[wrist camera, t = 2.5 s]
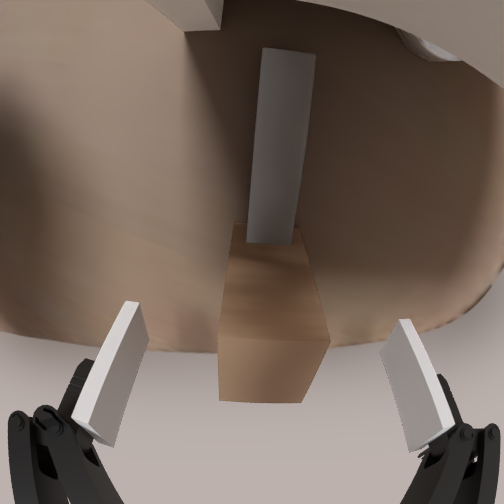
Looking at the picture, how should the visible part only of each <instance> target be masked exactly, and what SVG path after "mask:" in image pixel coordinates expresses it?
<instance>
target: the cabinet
mask: <svg viewBox="0 0 504 504" xmlns="http://www.w3.org/2000/svg"><path fill="white" fill-rule="evenodd" d="M145 1H147V2H148V3H149V4H151V5H152V6H153V7H155V8H156V9H157V10H158V11H160V12H161V13H162V14H163V15H165V16H166V17H167V18H168V19H170V20H171V21H172V22H173V23H174V24H175V25H177V26H178V27H179V28H180V29H181V30H182V31H184V32H186V31H205V30H220V29H221V20H222V11H223V3H224V0H145ZM298 1H304V2H310V3H315V4H320V5H325V6H330V7H334V8H338V9H342V10H346V11H349V12H353V13H356V14H360V15H363V16H366V17H369V18H372V19H375V20H378V21H381V22H384V23H386V24H389V25H392V26H394V27H397V28H399V29H402V30H404V31H406V32H409V33H411V34H413V35H416V36H418V37H420V38H422V39H424V40H426V41H428V42H430V43H432V44H434V45H436V46H438V47H440V48H442V49H444V50H445V51H447V52H449V53H451V54H452V55H454V56H456V57H458V58H459V59H461V60H462V61H464V62H466V63H467V64H469V65H470V66H472V67H473V68H475V69H476V70H478V71H479V72H481V73H482V74H484V75H485V76H487V77H488V78H489V79H491V80H492V81H493V82H495V83H496V84H497V85H499V86H500V87H501V88H503V89H504V0H298Z"/></svg>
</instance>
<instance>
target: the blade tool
mask: <svg viewBox="0 0 504 504" xmlns="http://www.w3.org/2000/svg"><path fill="white" fill-rule="evenodd" d="M315 64H316V55H315V54H310V53H304V52H297V51H290V50H283V49H274V48H264V47H263V51H262V58H261V69H260V80H259V91H258V103H257V114H256V126H255V137H254V149H253V161H252V173H251V185H250V197H249V210H248V222H247V223H243V222H234V228H233V234H232V240H231V247H230V253H229V260H228V267H227V273H226V280H225V287H224V294H223V301H222V308H221V315H220V323H219V330H218V376H219V400H221V401H233V402H250V403H301V402H302V400H303V398H304V396H305V394H306V393H307V390H308V389H309V386H310V385H311V383H312V381H313V379H314V376H315V374H316V372H317V370H318V368H319V366H320V364H321V361H322V359H323V357H324V355H325V353H326V351H327V349H328V346H329V344H330V342H331V341H330V336H329V332H328V328H327V324H326V321H325V317H324V313H323V309H322V305H321V301H320V298H319V294H318V290H317V287H316V283H315V280H314V276H313V272H312V269H311V265H310V262H309V259H308V255H307V252H306V248H305V245H304V242H303V239H302V235H301V232H300V229H299V227H294V223H295V217H296V211H297V204H298V198H299V192H300V185H301V178H302V171H303V164H304V157H305V150H306V142H307V135H308V127H309V119H310V111H311V102H312V93H313V84H314V74H315Z"/></svg>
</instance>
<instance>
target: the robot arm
mask: <svg viewBox="0 0 504 504" xmlns="http://www.w3.org/2000/svg"><path fill="white" fill-rule="evenodd" d="M148 342H149V337H148V334H147V330H146V326H145V322H144V319H143V315H142V311H141V306H140V303H137V302H131V301H125V303H124V305H123V307H122V309H121V311H120V312H119V314H118V316H117V318H116V320H115V322H114V324H113V326H112V328H111V330H110V332H109V334H108V336H107V338H106V340H105V342H104V344H103V346H102V348H101V350H100V352H99V354H98V356H97V358H96V360H95V361H93V360H89V359H86V358H85V359H84V361H82V362H81V363H80V364H79V365H78V367H77V369H76V371H75V373H74V375H73V377H72V379H71V381H70V384H69V385H68V388H67V390H66V392H65V394H64V397H63V399H62V401H61V404H60V406H59V408H58V410H56V409H55V408H53V407H52V406H49V405H42V406H40V407H38V408H37V409H36V411H35V412H34V415H33V417H28V416H27V415H26V414H25V413H24V412H22V411H15V412H13V413H12V414H11V415H10V417H9V420H8V450H9V465H10V475H11V482H12V488H13V495H14V500H15V504H69V502H68V499H69V501H70V503H71V504H124V503H123V501H122V500H121V498H120V496H119V495H118V493H117V491H116V489H115V488H114V486H113V484H112V482H111V480H110V479H109V477H108V475H107V473H106V471H105V469H104V467H103V465H102V463H101V461H100V459H99V457H98V455H97V452H96V450H95V448H94V446H93V444H92V442H93V439H95V440H96V441H97V442H99V443H101V444H104V445H107V446H110V447H114V445H115V441H116V438H117V434H118V431H119V427H120V424H121V421H122V417H123V414H124V411H125V408H126V405H127V401H128V398H129V396H130V392H131V389H132V386H133V383H134V381H135V378H136V375H137V372H138V369H139V366H140V363H141V361H142V358H143V355H144V352H145V350H146V347H147V344H148ZM380 355H381V358H382V361H383V364H384V367H385V369H386V372H387V376H388V379H389V382H390V385H391V388H392V391H393V394H394V398H395V400H396V404H397V408H398V411H399V415H400V418H401V422H402V426H403V429H404V433H405V437H406V441H407V445H408V450H409V452H413V451H416V450H419V449H422V448H423V447H425V446H426V445H429V448H428V449H426V450H425V451H423V452H422V453H420V454H419V456H418V458H420V457H421V456H423V455H424V454H425V455H424V457H422V459H423V460H422V462H421V464H420V466H419V468H418V471H417V473H416V475H415V477H414V479H413V481H412V483H411V485H410V487H409V489H408V490H407V492H406V494H405V496H404V498H403V500H402V501H401V503H400V504H494V502H495V497H496V491H497V483H498V475H499V462H500V430H499V428H498V426H497V425H496V424H493V423H492V424H489V425H488V426H486V427H485V428H484V429H473V428H472V426H470V425H469V424H466V423H463V421H462V418H461V416H460V413H459V411H458V408H457V405H456V403H455V401H454V398H453V395H452V392H451V391H450V388H449V385H448V383H447V381H446V379H445V378H444V377H443V376H442V375H441V374H438V375H436V373H435V371H434V369H433V366H432V364H431V362H430V359H429V357H428V355H427V353H426V351H425V349H424V346H423V344H422V342H421V340H420V338H419V336H418V334H417V332H416V330H415V328H414V326H413V324H412V322H411V320H410V319H399V320H398V322H397V323H396V325H395V327H394V329H393V331H392V332H391V334H390V336H389V338H388V339H387V341H386V343H385V345H384V346H383V348H382V349H381V351H380ZM477 456H478V457H477ZM476 457H477V462H474V458H476ZM67 497H68V498H67Z"/></svg>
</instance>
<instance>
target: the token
mask: <svg viewBox="0 0 504 504" xmlns="http://www.w3.org/2000/svg"><path fill="white" fill-rule="evenodd" d="M394 28H395V30H396V32H397V34H398V36H399V37H400V39H401V40H402V41H403V43H404V44H405V45H406V46H407V47H408V48H409V49H410V50H411V51H412V52H414V53H415V54H416V55H418V56H419V57H421V58H423V59H425V60H428V61H432V62H443V61H462V60H461V59H459V58H458V57H456V56H454V55H452V54H451V53H449V52H447V51H445V50H444V49H442V48H440V47H438V46H436V45H434V44H432V43H430V42H428V41H426V40H424V39H422V38H420V37H418V36H416V35H413V34H411V33H409V32H406V31H404V30H402V29H399V28H397V27H394Z"/></svg>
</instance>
